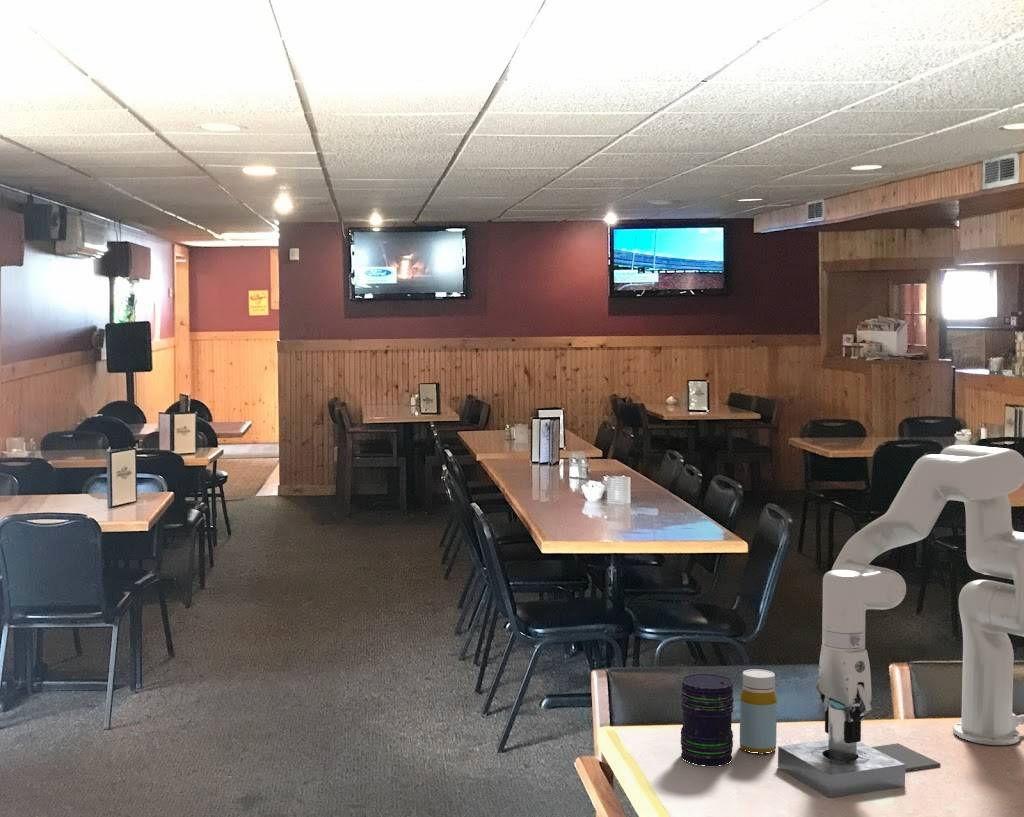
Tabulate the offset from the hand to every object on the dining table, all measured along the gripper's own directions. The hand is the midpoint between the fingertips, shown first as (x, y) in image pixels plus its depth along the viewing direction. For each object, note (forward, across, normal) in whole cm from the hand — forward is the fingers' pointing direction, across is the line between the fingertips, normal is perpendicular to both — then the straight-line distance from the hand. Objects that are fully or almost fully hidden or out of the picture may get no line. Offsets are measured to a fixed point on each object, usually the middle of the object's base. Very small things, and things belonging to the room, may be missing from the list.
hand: (842, 736), depth 214 cm
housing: (+7, 0, 0) cm, 7 cm away
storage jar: (+8, +17, +18) cm, 26 cm away
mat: (+8, +4, -14) cm, 17 cm away
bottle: (+8, +18, +6) cm, 21 cm away
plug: (+5, 0, 0) cm, 5 cm away
